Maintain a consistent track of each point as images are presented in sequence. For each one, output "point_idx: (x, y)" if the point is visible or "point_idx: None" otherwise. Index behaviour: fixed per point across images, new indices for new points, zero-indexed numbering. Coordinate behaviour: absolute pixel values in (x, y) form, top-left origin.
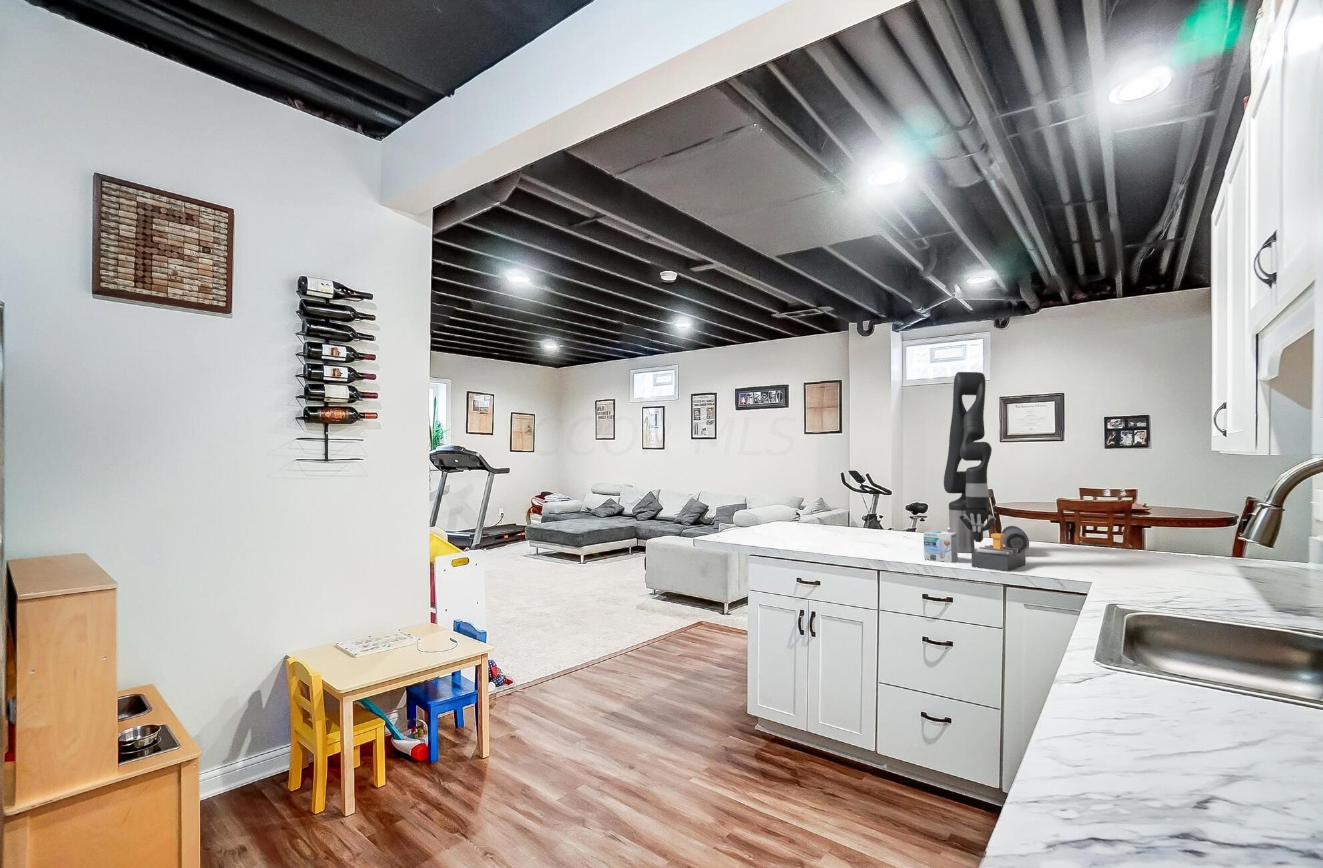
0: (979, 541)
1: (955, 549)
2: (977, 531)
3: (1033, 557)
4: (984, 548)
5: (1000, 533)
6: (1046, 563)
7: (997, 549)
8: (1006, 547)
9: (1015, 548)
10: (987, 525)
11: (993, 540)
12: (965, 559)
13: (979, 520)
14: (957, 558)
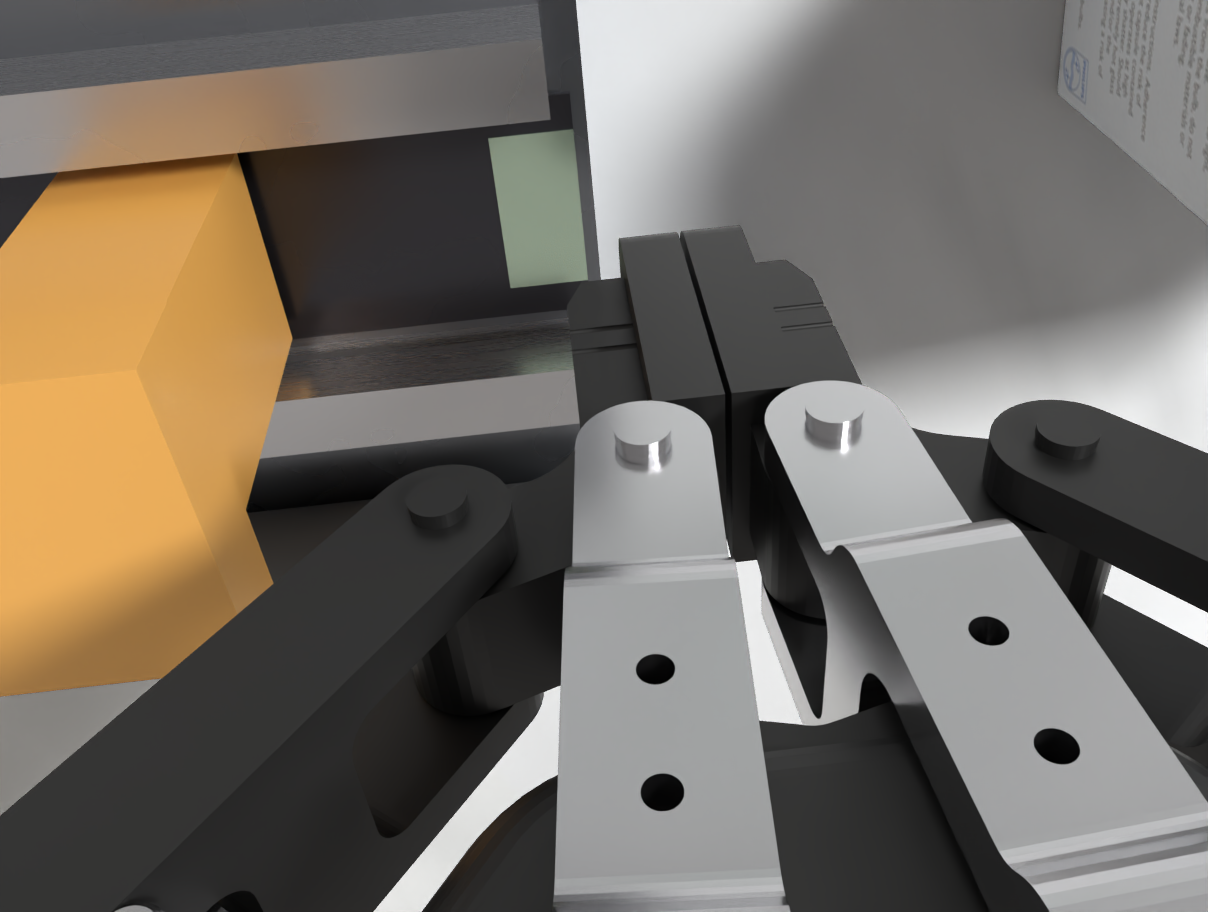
0: (621, 255)
1: (1185, 34)
2: (752, 486)
3: (395, 904)
4: (391, 47)
5: (98, 679)
6: (50, 743)
7: (20, 86)
8: None
9: None
10: (260, 658)
11: (152, 295)
12: (964, 278)
13: (635, 777)
14: (1071, 92)
